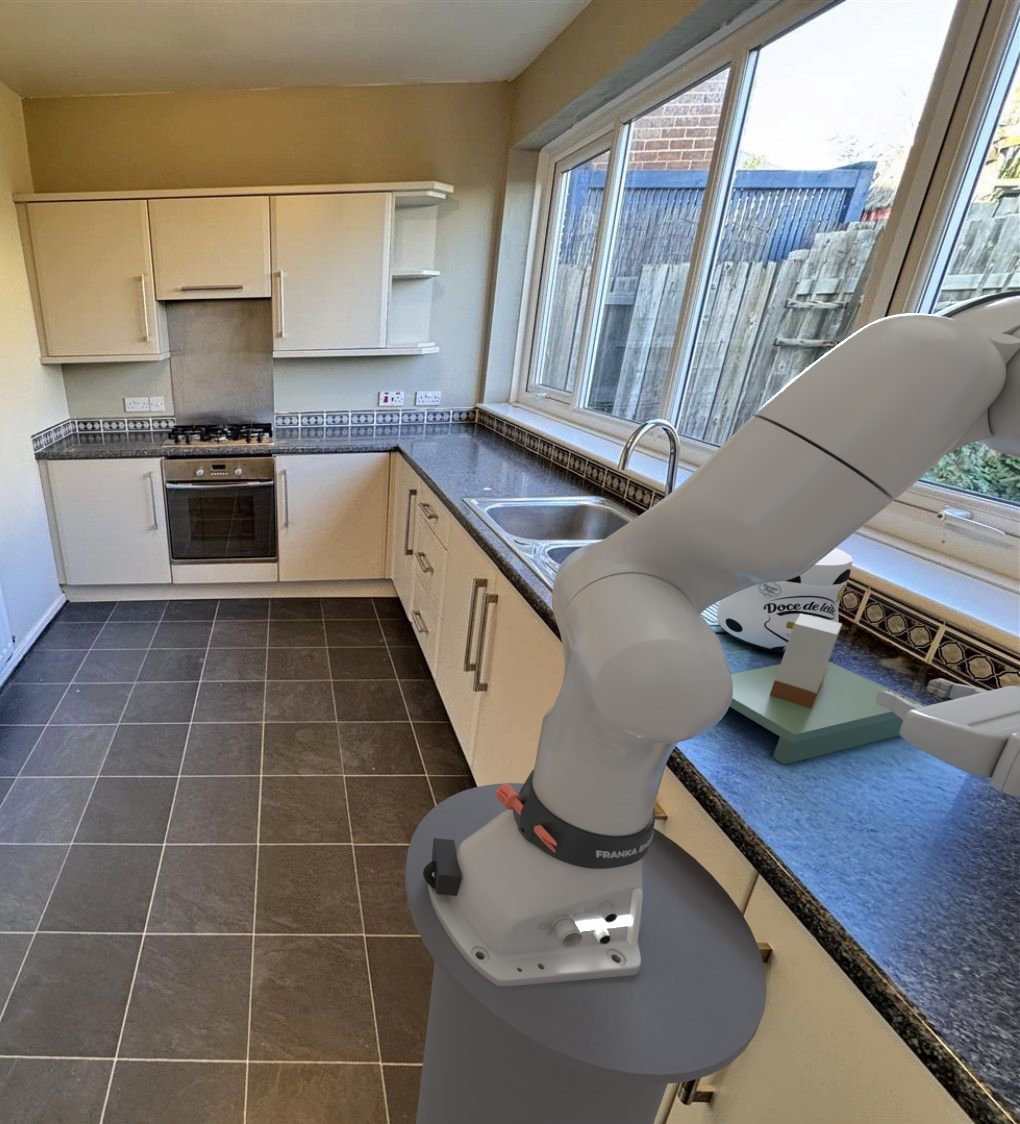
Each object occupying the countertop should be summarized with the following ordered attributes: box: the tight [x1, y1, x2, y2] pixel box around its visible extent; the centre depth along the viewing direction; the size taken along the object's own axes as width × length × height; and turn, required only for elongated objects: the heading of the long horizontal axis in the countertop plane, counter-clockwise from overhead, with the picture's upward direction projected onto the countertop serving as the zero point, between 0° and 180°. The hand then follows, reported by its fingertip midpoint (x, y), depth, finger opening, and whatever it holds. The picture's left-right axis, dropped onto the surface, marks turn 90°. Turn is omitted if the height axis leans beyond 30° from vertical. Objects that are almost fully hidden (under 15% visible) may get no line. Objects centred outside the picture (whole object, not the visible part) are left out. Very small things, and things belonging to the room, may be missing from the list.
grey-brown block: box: [770, 614, 843, 709], centre depth 89 cm, size 10×5×12 cm, turn 133°
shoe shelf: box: [729, 661, 923, 766], centre depth 92 cm, size 24×14×5 cm, turn 105°
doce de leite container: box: [716, 547, 853, 655], centre depth 112 cm, size 17×17×18 cm
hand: (906, 689), depth 76 cm, fingers open, 8 cm apart
